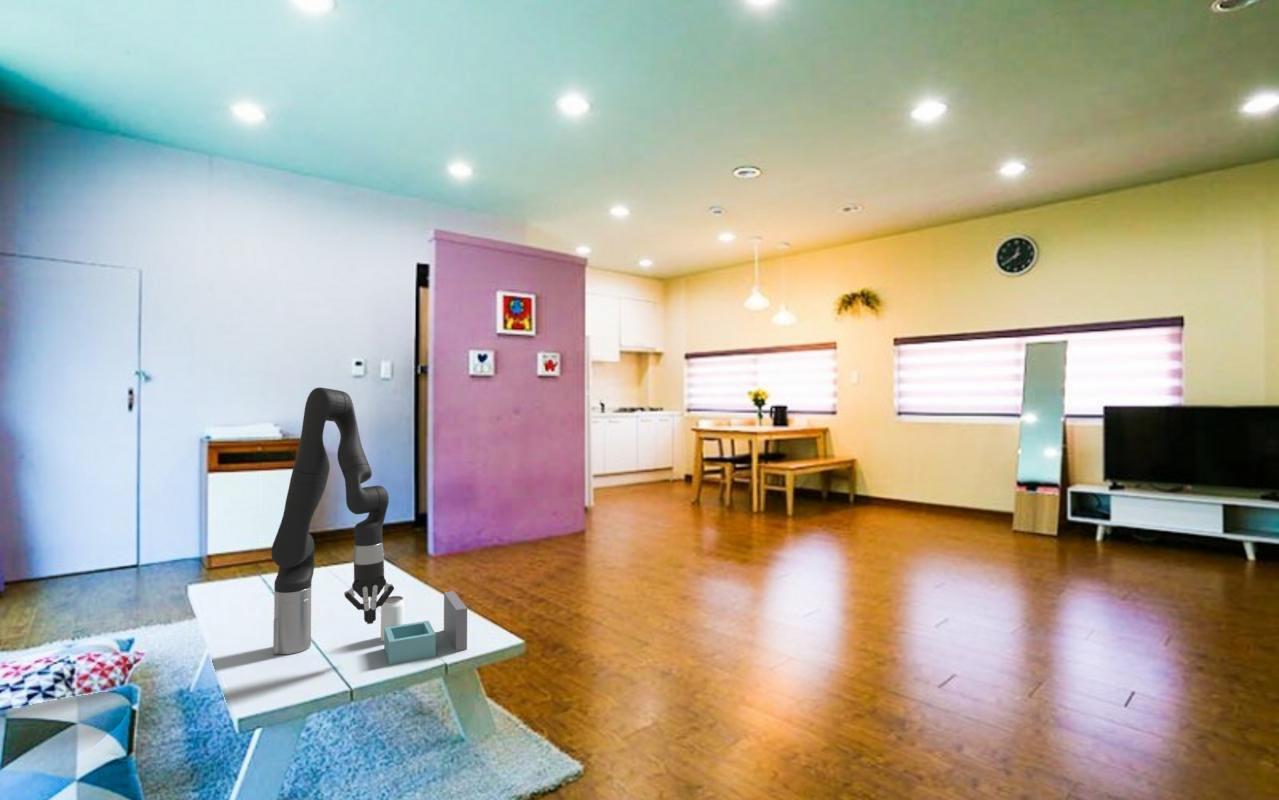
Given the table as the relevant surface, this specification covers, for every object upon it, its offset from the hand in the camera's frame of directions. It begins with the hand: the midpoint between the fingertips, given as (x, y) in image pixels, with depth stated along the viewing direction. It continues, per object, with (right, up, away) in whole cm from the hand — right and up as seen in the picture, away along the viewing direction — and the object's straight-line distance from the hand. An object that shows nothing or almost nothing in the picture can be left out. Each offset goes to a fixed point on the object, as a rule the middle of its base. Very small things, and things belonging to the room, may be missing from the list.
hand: (369, 622), depth 167 cm
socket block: (+9, -10, +5) cm, 14 cm away
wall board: (+19, -10, +14) cm, 26 cm away
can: (0, -11, +15) cm, 18 cm away
